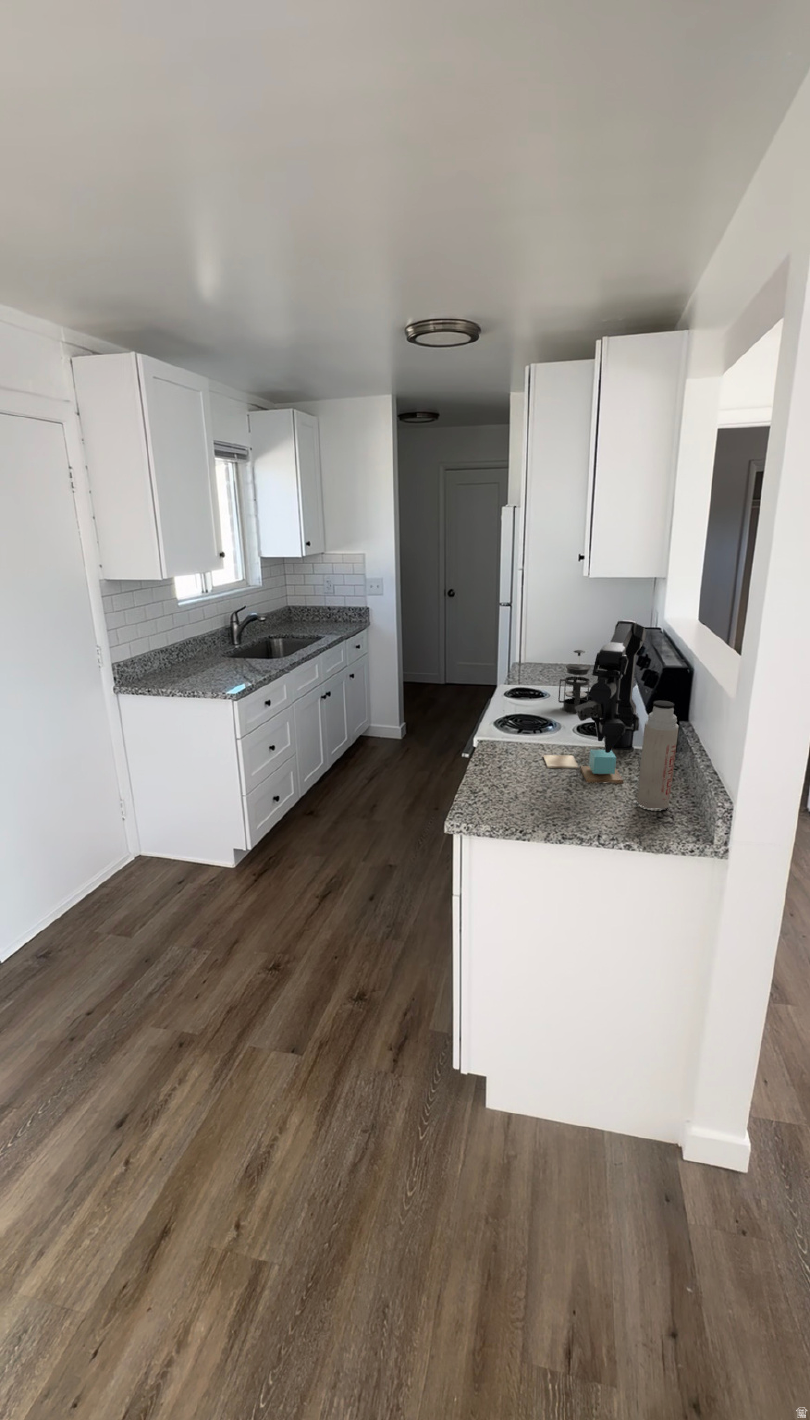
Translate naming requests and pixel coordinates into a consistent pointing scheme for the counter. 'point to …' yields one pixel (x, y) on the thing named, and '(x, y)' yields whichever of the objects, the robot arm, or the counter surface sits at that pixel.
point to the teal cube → (602, 762)
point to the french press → (575, 686)
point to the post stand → (600, 776)
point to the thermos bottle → (658, 756)
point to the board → (560, 761)
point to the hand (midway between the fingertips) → (603, 746)
